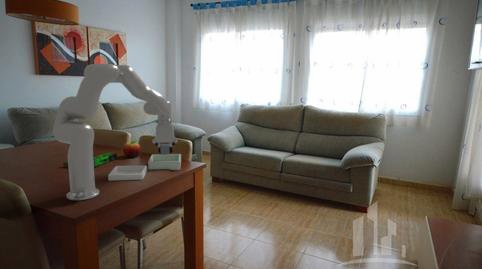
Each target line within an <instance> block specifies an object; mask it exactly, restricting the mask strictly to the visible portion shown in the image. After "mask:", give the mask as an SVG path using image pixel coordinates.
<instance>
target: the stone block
mask: <svg viewBox="0 0 482 269" xmlns="http://www.w3.org/2000/svg"><path fill="white" fill-rule="evenodd" d="M160 149H161V154H160V155H170V144H169V143H161V145H160Z"/></svg>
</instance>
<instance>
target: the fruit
mask: <svg viewBox="0 0 482 269" xmlns="http://www.w3.org/2000/svg"><path fill="white" fill-rule="evenodd" d="M122 150H123V155H124V156H125V157H127V158H137V157H139V155H140V154H141V151H142V148H141V145H140V144H139V143H138V140H132V141H130V142H126V143H125V144H124V146H123V149H122Z"/></svg>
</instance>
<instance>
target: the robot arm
mask: <svg viewBox="0 0 482 269" xmlns="http://www.w3.org/2000/svg"><path fill="white" fill-rule="evenodd" d="M115 83H116V84H121V85H123V87H124V88H125V89H126V90H127V91H128V92H129V93H130V94H131V96H133V97H134V98H136V99H139V100H141V101H144V102H145V103H144V104H143V107H142V108H143V111H144V112H145V113H146V114H147V115H149V116H157V119H155V121H154V123H155V124H156V126H155V137H154V138H153V139H152V140H151V142H152V143H153V144H154V145H155V146H156V147H157V148H158V149H157V150H158V153H159V155H161V149H160V146H161V144H170V154H172V153H173V147H174V146H175V145H176V144H177V143H178V142H179V140H178V138H177V137H176V136H175V131H174V125H173V124H172V102H171V101H170V100H166V99H165V97H164V96H163V95H162V94H161V93H159V92H158V91H156V90H154V89H153V88H151V86H148V85H147V84H145V82H144V81H143V79H141V77H140V75H138V73H137V72H136V71H135V69H133V68H132V66H130V65H127V64H112V63H94V64H93V63H92V64H88V65H86V67H85V68H84V71H83V78H82V79H81V82H80V84H79V87H78V90H77V93H76V96H71V95H70V96H67V97H65V98H64V99H63V100H61V102H60V104H59V107H58V110H57V114H56V116H55V120H54V125H53V128H52V130H53V131H52V132H53V136H54V139H55V140H57V141H58V142H60V143H63V144H68V145H69V146H68V147H69V149H68V151H67V162H68V167H67V168H68V178H69V188H70V189H69V190H70V191H69V192H67V193H66V199H68V200H70V201H85V200H90V199H93V198H96V197H97V196H99V194H100V190H99V188H96V183H95V182H96V180H95V167H94V161H93V156H94V141H95V131H94V129H93V127H92V126H91V125H90V124H88V123H86V122H82V121H79V120H86V121H88V120H91V119H94V117H95V116H96V114H97V109H98V105H99V102H100V98H101V93H102V92H103V89H104V88H105V87H106V86H108V85H109V84H115Z"/></svg>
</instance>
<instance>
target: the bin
mask: <svg viewBox="0 0 482 269" xmlns="http://www.w3.org/2000/svg"><path fill="white" fill-rule="evenodd" d="M181 163H182V154H181V153H178V154H177V153H171V154H170V155H161V154H151V156H150V158H149V159H148V162H147V170H169V171H180V170H181V165H182V164H181Z"/></svg>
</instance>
